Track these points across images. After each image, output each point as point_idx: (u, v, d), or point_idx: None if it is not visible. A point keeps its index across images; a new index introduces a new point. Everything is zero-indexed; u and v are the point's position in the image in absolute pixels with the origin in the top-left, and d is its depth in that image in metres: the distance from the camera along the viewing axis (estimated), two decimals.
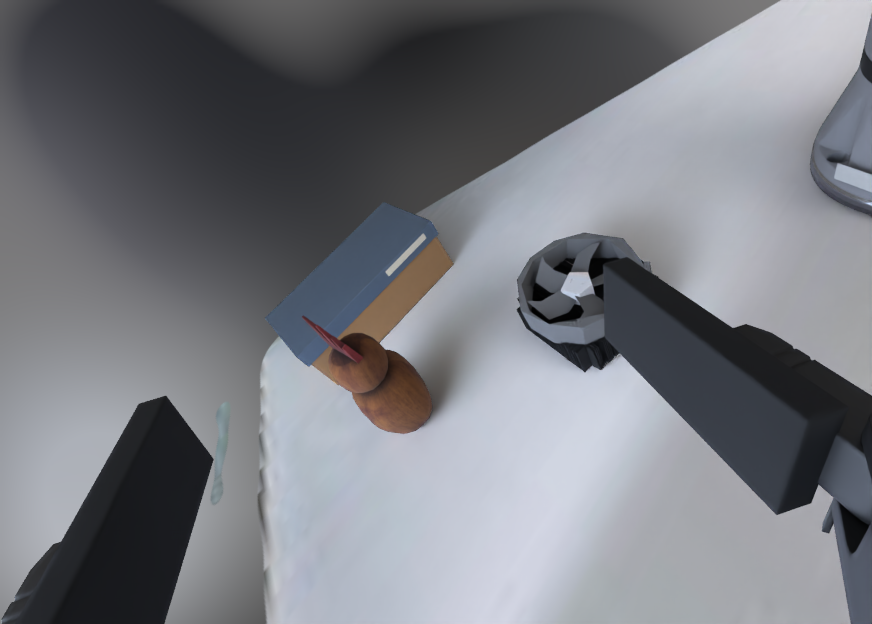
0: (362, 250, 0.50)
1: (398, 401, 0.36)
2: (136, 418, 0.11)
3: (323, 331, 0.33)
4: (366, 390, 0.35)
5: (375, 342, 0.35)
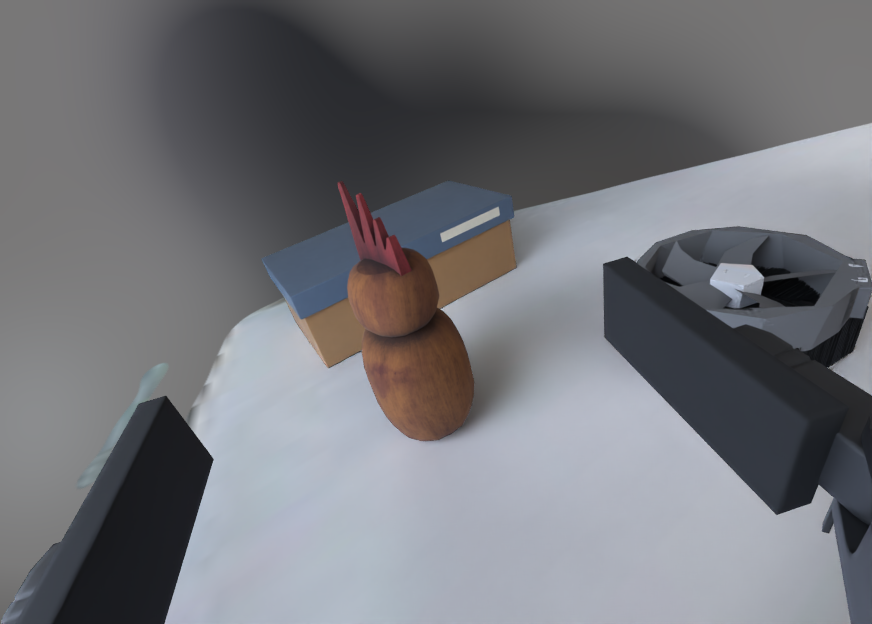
0: (412, 212, 0.39)
1: (437, 367, 0.22)
2: (136, 418, 0.11)
3: (365, 208, 0.20)
4: (396, 330, 0.21)
5: (430, 266, 0.23)
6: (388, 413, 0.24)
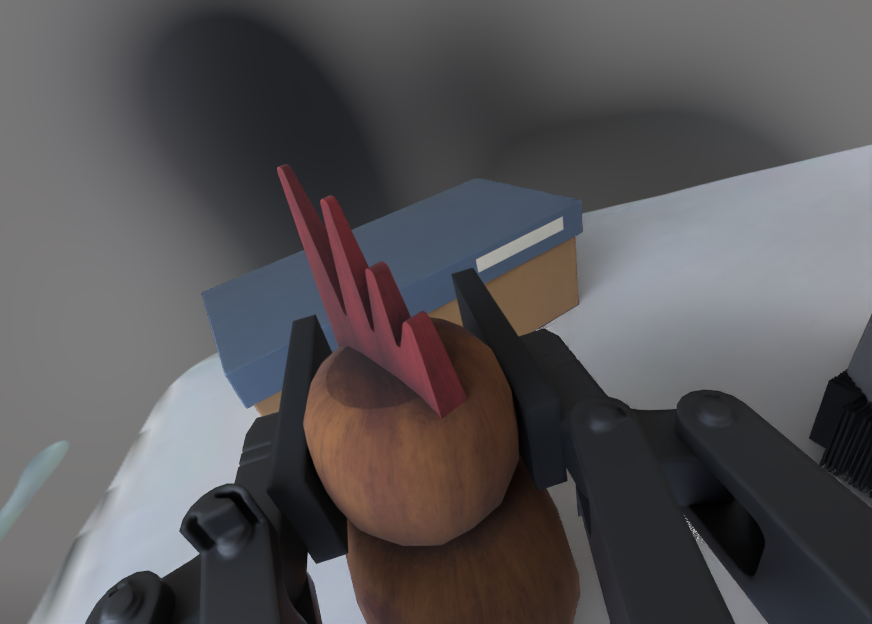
0: (429, 224, 0.26)
1: (521, 617, 0.09)
2: (297, 330, 0.13)
3: (345, 236, 0.08)
4: (423, 542, 0.08)
5: (499, 365, 0.10)
6: None
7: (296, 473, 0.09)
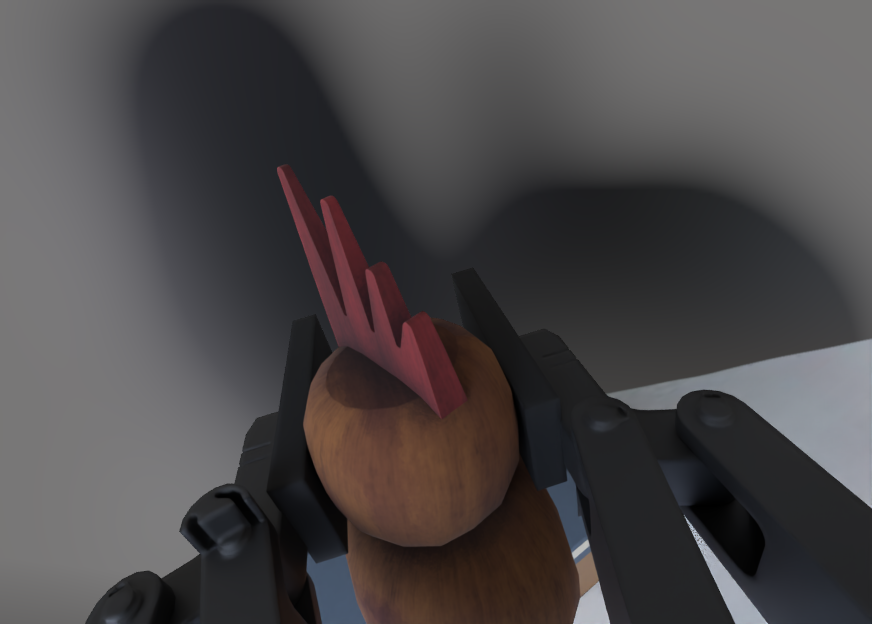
0: None
1: (521, 618, 0.09)
2: (297, 330, 0.13)
3: (345, 236, 0.08)
4: (423, 543, 0.08)
5: (499, 365, 0.10)
6: None
7: (296, 473, 0.09)
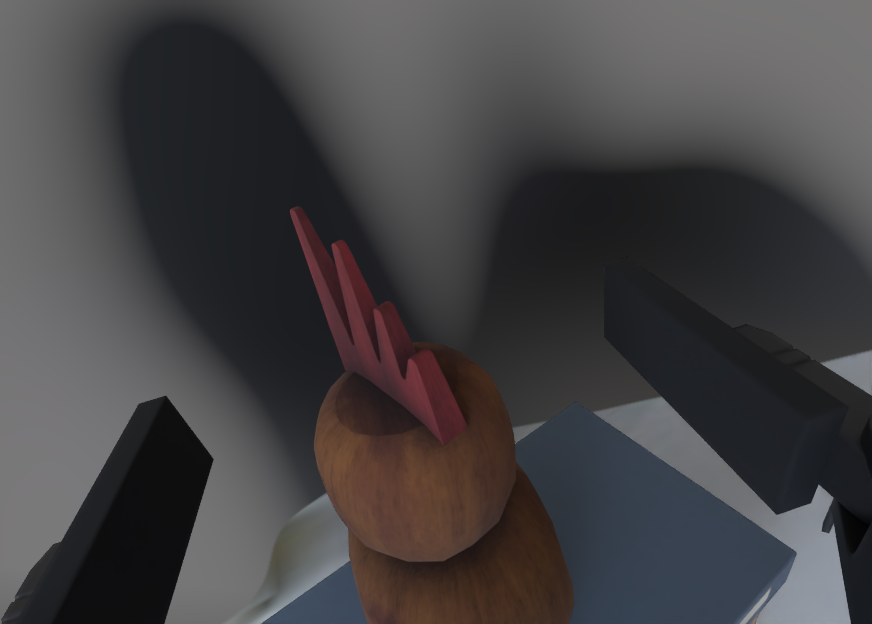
0: None
1: None
2: (137, 418, 0.11)
3: (354, 276, 0.08)
4: (426, 558, 0.09)
5: (497, 389, 0.10)
6: None
7: None
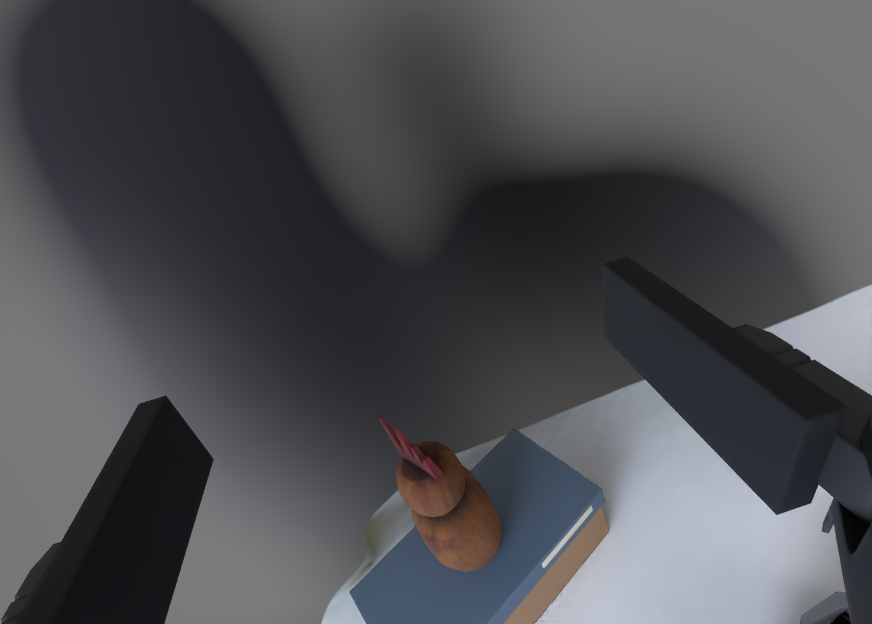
0: (495, 508, 0.37)
1: (473, 532, 0.30)
2: (137, 418, 0.11)
3: (402, 437, 0.28)
4: (439, 514, 0.29)
5: (454, 455, 0.30)
6: (442, 563, 0.31)
7: None
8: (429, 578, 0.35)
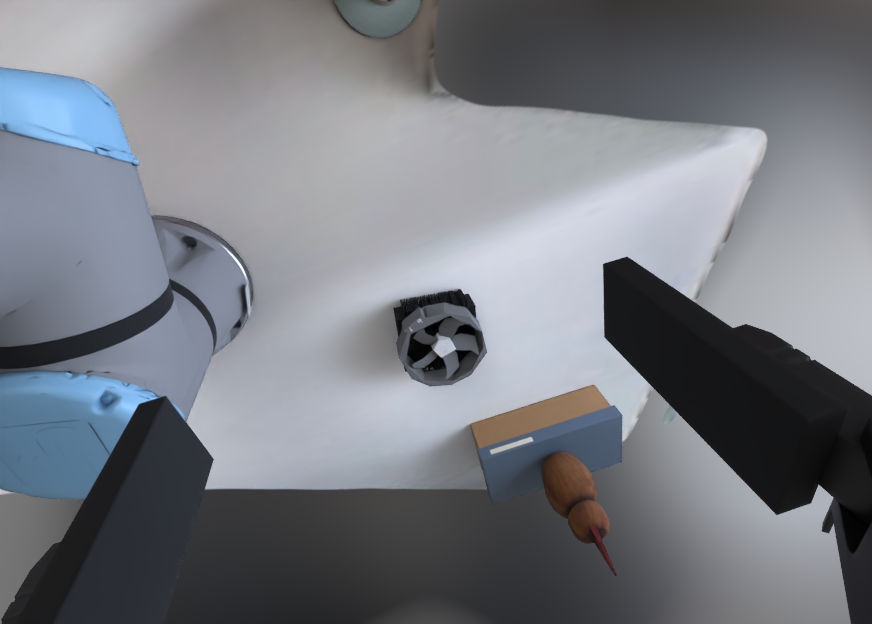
0: (534, 470, 0.61)
1: (575, 483, 0.54)
2: (136, 418, 0.11)
3: (608, 558, 0.49)
4: (593, 502, 0.53)
5: (574, 529, 0.52)
6: None
7: None
8: (584, 454, 0.62)
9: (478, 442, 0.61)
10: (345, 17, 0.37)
